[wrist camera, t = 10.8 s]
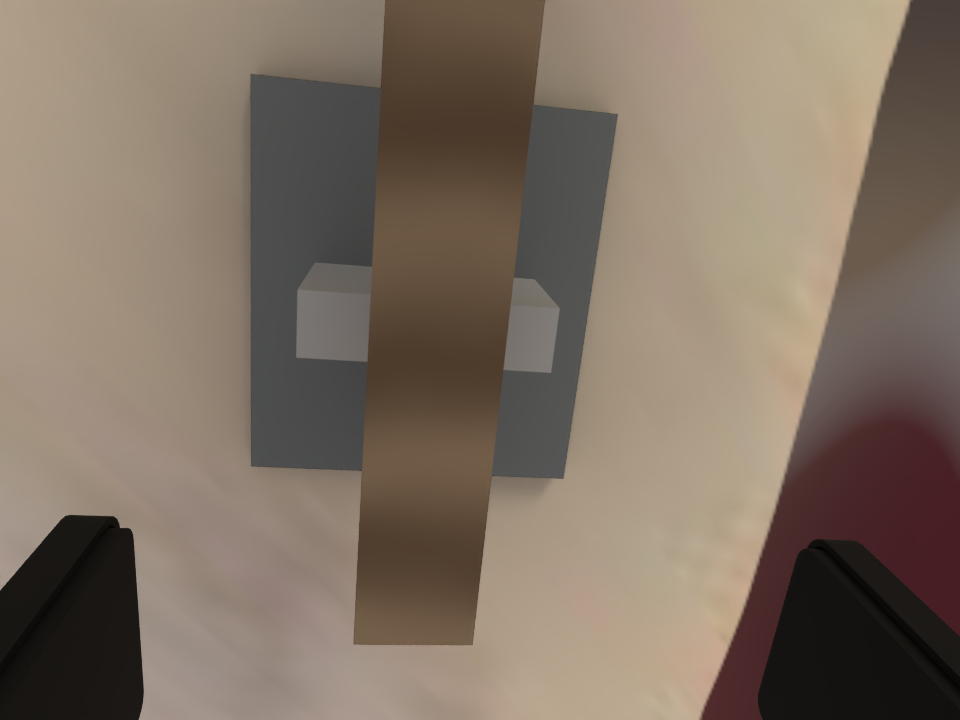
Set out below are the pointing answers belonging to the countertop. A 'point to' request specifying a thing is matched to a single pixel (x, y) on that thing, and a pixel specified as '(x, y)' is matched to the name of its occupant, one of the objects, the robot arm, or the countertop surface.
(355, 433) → the slate board
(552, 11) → the countertop surface
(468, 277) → the walnut bar
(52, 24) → the countertop surface
